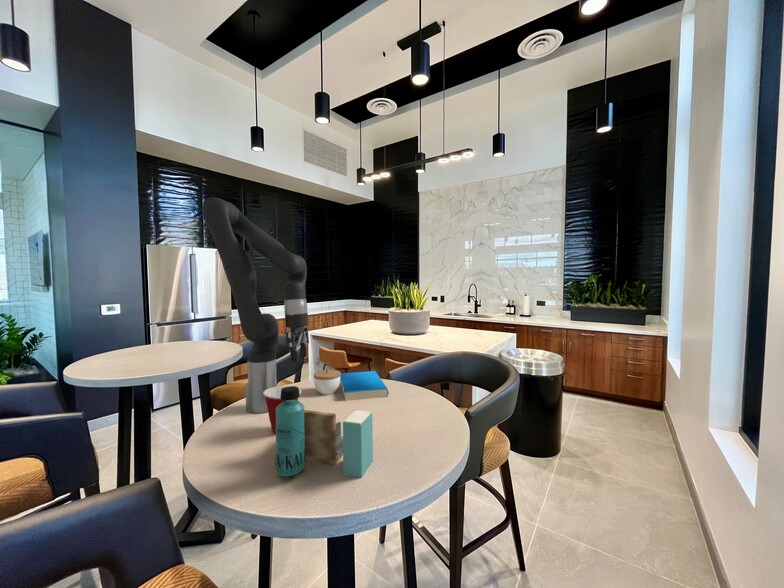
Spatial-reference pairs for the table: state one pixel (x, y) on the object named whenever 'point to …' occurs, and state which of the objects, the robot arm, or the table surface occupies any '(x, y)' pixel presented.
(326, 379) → the lidded jar
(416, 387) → the table surface
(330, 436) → the shelf
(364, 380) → the book
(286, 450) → the beverage bottle
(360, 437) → the teal book
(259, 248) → the robot arm
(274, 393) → the plastic cup
